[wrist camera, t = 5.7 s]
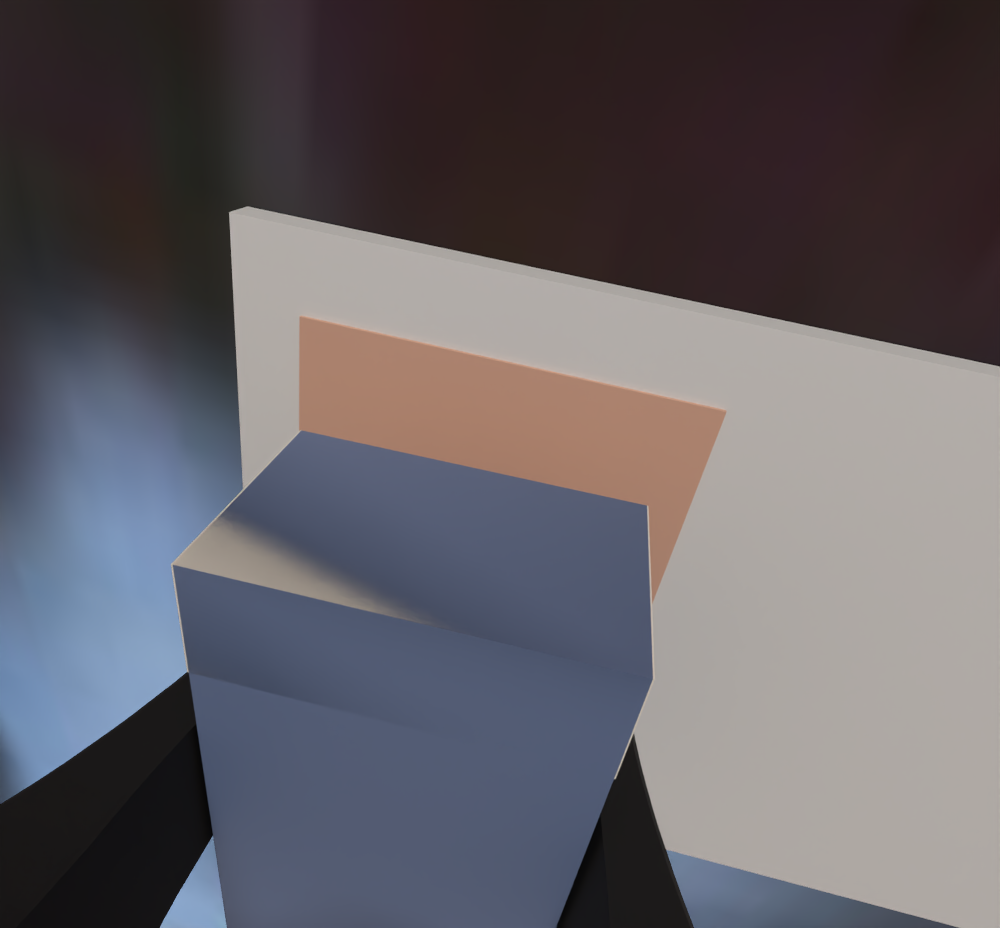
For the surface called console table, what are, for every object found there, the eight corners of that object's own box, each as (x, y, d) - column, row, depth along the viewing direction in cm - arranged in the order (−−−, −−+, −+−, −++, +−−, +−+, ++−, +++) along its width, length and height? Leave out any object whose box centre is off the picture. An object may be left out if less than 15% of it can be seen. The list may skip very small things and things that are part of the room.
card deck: (543, 834, 15) (520, 1020, 12) (305, 772, 15) (227, 937, 12) (648, 505, 10) (654, 679, 7) (300, 430, 10) (170, 563, 7)
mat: (1623, 498, 10) (1683, 524, 9) (1062, 932, 17) (1077, 961, 17) (247, 206, 11) (227, 213, 11) (265, 722, 19) (254, 742, 18)
